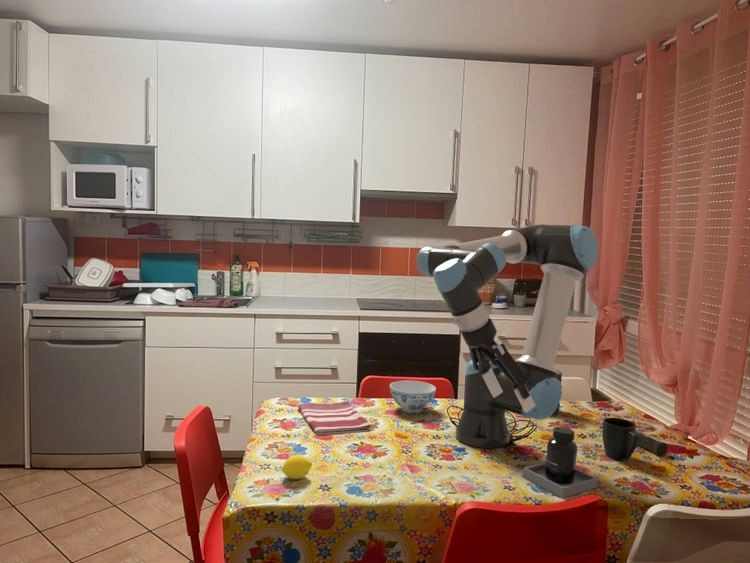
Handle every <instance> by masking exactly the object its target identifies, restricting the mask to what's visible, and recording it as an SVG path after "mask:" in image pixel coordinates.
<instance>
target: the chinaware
mask: <svg viewBox="0 0 750 563" xmlns="http://www.w3.org/2000/svg"><path fill="white" fill-rule="evenodd" d="M389 389H390V390H389V391H390V394H391V397H392V399H393V401H394V402H395V404H397V405H398V406H399V407H400V408H401V410H402V411H403V412H406V413H409V414H418V413H421V412H422V410H423V408H425V407H427V406H428V405H429V404H430V403H431V402H432V400H434V396H435V394H436V390H437V388H436V386H435V385H433V384H431V383H429V382H424V381H418V380H399V381H394V382H391V383H390V384H389Z"/></svg>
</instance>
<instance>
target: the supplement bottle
mask: <svg viewBox="0 0 750 563" xmlns="http://www.w3.org/2000/svg"><path fill="white" fill-rule="evenodd" d="M546 447H547V448H546V455H545V456H546V458H545V459H546V460H545V463H546V466H545V476H546V477H547V478H548V479H549V480H551V481H553V482H556V483H560V484H569V483H572V482H573V481H574V477H575V468H577V457H578V445H577V443H576V441H575V431H574V430H573V429H572V428H568V427H564V426H556V427H553V430H552V437H551V438H550V439H548V441H547V446H546Z"/></svg>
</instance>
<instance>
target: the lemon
mask: <svg viewBox="0 0 750 563" xmlns="http://www.w3.org/2000/svg"><path fill="white" fill-rule="evenodd" d="M312 465H313V463H312V462H311V461H310V460H309V458H307V457H305V456H304V455H302V454H300V455H299V454H295V455H294V454H293V455H291V456H290V457H288V458H287V459H286V460H285V461H284V463H283V465H282V468H281V471H282V472H283V474H284V475H285V476H286V477H287V478H288V479H291V480H300V479H303V478H305V477H306V476H307V475H308V474H309V472H310V470H311V468H312Z"/></svg>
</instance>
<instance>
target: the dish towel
mask: <svg viewBox="0 0 750 563" xmlns="http://www.w3.org/2000/svg"><path fill="white" fill-rule="evenodd" d="M297 408H298V410H299V411H300V413H301V415H302V417H303V418H304V419H305V421H306V422H307V423H308V425H309V427H310V428H311V429H312V431H313V432H314V433H315V435H317V436H318V435H319V436H322V435H333V434H346V433H347V434H349V433H361V432H362V433H363V432H370V429H371V424H370V423H369V422H368V420H367V419H365V418H364V417H363V416H361V414H359V412H358V411H357V410H356V409H354V407H353V406H352V405H351V403H350V401H348V400H346V401H341V402H335V403H316V402H306V403H301V404H299V405H298V407H297Z"/></svg>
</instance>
